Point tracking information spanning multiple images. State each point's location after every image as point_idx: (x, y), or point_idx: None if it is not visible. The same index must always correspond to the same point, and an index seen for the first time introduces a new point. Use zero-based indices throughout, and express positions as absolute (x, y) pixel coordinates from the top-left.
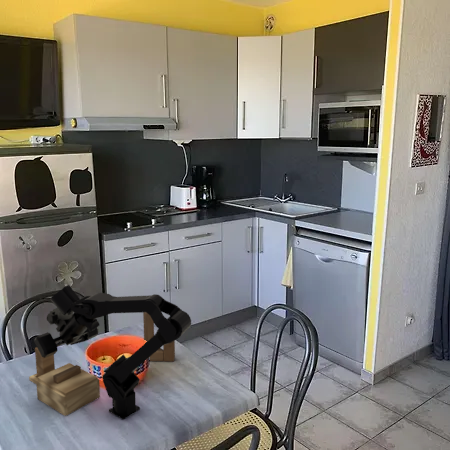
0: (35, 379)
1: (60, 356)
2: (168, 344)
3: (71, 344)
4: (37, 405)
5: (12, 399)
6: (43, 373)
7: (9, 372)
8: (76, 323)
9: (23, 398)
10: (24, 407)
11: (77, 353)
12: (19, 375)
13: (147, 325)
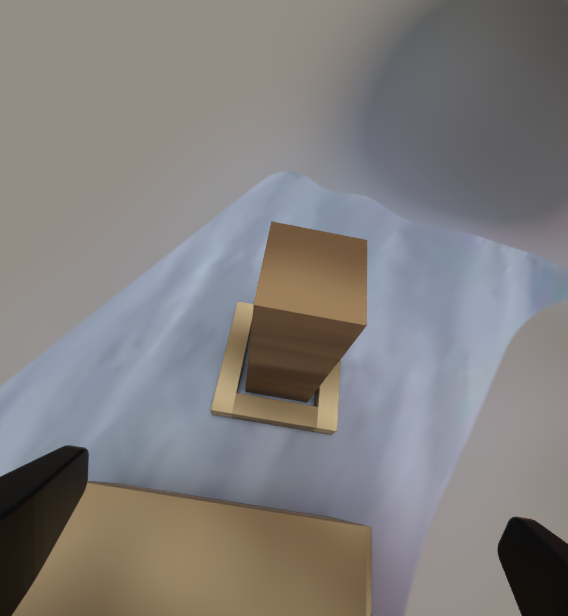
0: (232, 343)
1: (435, 280)
2: None
3: (512, 579)
4: None
5: (72, 368)
6: (247, 372)
7: (244, 212)
8: None
9: (95, 408)
10: None
11: (500, 320)
12: (246, 253)
13: None
